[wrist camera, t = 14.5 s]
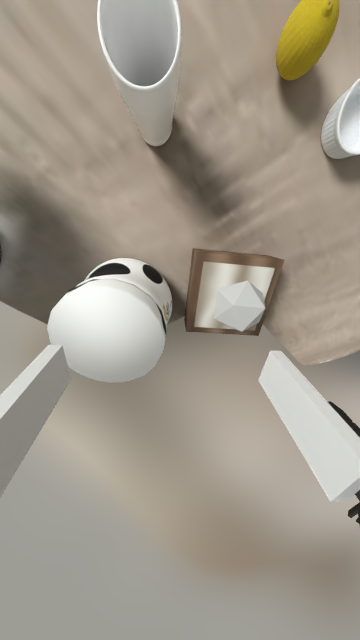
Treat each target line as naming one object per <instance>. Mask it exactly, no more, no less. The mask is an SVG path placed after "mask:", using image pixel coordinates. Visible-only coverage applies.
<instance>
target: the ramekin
mask: <svg viewBox="0 0 360 640" xmlns="http://www.w3.org/2000/svg"><path fill="white" fill-rule="evenodd" d="M321 143H322V147H323V150H324V152H325V153H326V154H327V155H328V156H329V157H331V158H333V159H342V158H346V157H349V156H353V155H360V78H359V79H358V80H357V81H356V82H355V83H354V85H353V86H352V87H351V88H350V89H349V90H348V91H347V92H345V93H344V94H343V95H342V96H341V97H340V98H339V99H338V100H337V101H336V103H335V104H334V105H333V106H332V108H331V109H330V111H329V113H328V114H327V116H326V118H325V121H324V123H323V127H322V132H321Z"/></svg>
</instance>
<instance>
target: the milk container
mask: <svg viewBox="0 0 360 640" xmlns="http://www.w3.org/2000/svg"><path fill="white" fill-rule="evenodd" d="M171 312H172V296H171V292H170V289H169V287H168V284H167V283H166V281H165V279H164V278H163V277H162V275H161V274H160V273H159V272H158V271H157V270H156V269H154V268H153V267H152V266H150V265H149V264H147V263H145V262H142V261H140V260H136V259H131V258H118V259H112V260H109V261H106V262H104V263H102V264H100V265H99V266H97V267H96V268H94V269H93V270H92V271H91V272H90V273H89V275H88V276H87V277H86V279H85V281H83V282H81V283H80V284H78V285H77V286H76V287H74V288H72V289H71V290H69V291H68V292H67V293H66V294H65V295H64V296H63V298H62V299H61V300H60V301H59V302H58V303H57V304H56V306H55V307H54V308H53V309H52V311H51V313H50V317H49V321H48V326H47V331H48V335H49V340H50V344H51V345H62V346H63V349H64V353H65V357H66V361H67V364H68V366H69V367H70V368H71V369H72V370H74V371H75V372H77V373H79V374H81V375H83V376H86V377H88V378H90V379H92V380H97V381H103V382H108V383H115V382H128V381H131V380H133V379H137V378H140V377H142V376H144V375H145V374H146V373H148V372H149V371H150V370H152V369H153V368H154V367H155V365H156V364H157V362H158V360H159V358H160V357H161V355H162V353H163V350H164V346H165V338H166V332H167V324H168V322H169V319H170V316H171Z"/></svg>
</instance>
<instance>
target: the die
mask: <svg viewBox="0 0 360 640" xmlns="http://www.w3.org/2000/svg"><path fill="white" fill-rule="evenodd" d="M264 310H265V303H264V297H263V293H262V292H261V291H260V290H258V289H257V288H256V287H255V286H254V285H253V284H251V283H250V282H249V281H244V282H240V283H236V284H232V285H229V286H226V287H223V288H219V289H217V295H216V304H215V314H214V319H216V320H218V321H220V322H222V323H224V324H226V325H228V326H230V327H232V328H234V329H236V330H239V331H241V332H242V331H244V330H246V329H248V328H250V327H251V326H253V325H255V324H257V323H259V321H260V319H261V317H262V315H263V312H264Z"/></svg>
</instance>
